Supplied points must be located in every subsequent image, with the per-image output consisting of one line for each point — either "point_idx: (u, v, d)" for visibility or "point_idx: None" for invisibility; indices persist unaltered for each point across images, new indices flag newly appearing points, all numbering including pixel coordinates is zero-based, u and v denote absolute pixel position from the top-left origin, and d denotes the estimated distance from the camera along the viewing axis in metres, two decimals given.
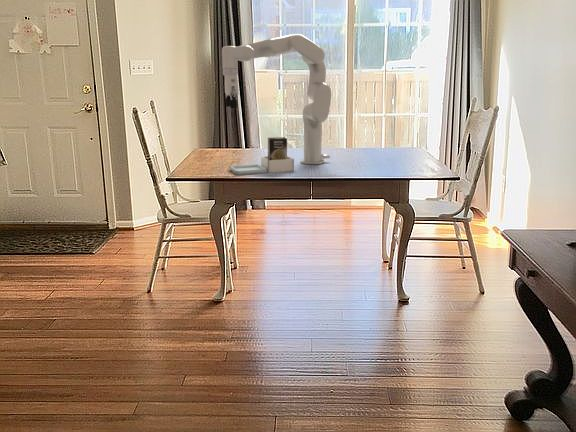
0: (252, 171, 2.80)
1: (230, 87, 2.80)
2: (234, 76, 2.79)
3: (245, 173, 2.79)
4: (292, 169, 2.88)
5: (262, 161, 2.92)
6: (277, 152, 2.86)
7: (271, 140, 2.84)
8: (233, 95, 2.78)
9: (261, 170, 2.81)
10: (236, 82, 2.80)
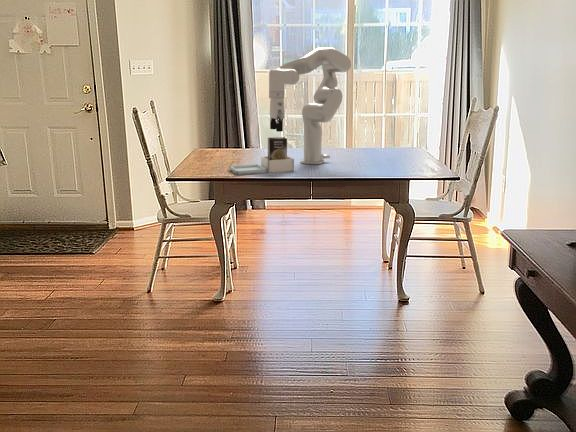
0: (252, 171, 2.80)
1: (277, 110, 2.78)
2: (281, 100, 2.78)
3: (245, 173, 2.79)
4: (292, 169, 2.88)
5: (262, 161, 2.92)
6: (277, 152, 2.86)
7: (271, 140, 2.84)
8: (280, 119, 2.77)
9: (261, 170, 2.81)
10: (283, 105, 2.79)
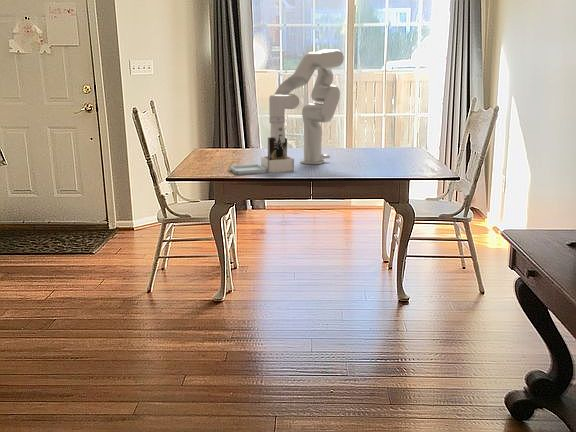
0: (252, 171, 2.80)
1: (277, 135, 2.82)
2: (281, 125, 2.82)
3: (245, 173, 2.79)
4: (292, 169, 2.88)
5: (262, 161, 2.92)
6: None
7: (271, 140, 2.84)
8: (280, 145, 2.82)
9: (261, 170, 2.81)
10: (283, 130, 2.82)
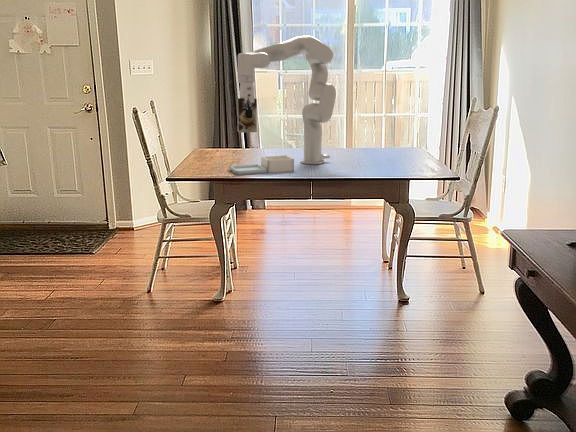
0: (252, 171, 2.80)
1: (246, 95, 2.72)
2: (250, 84, 2.71)
3: (245, 173, 2.79)
4: (292, 169, 2.88)
5: (262, 161, 2.92)
6: None
7: (240, 100, 2.73)
8: (249, 105, 2.71)
9: (261, 170, 2.81)
10: (252, 90, 2.72)
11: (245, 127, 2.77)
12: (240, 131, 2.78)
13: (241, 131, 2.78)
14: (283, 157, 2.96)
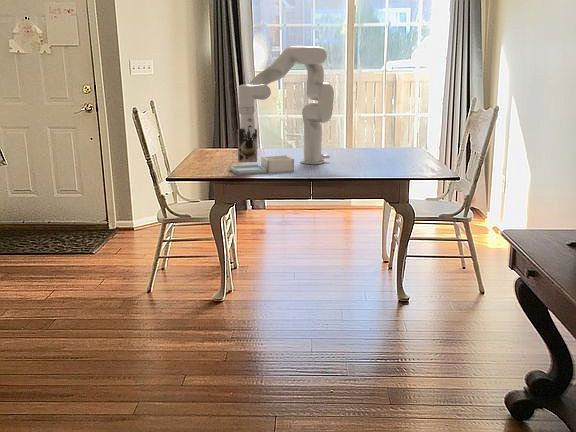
0: (252, 171, 2.80)
1: (247, 126, 2.76)
2: (251, 115, 2.75)
3: (245, 173, 2.79)
4: (292, 169, 2.88)
5: (262, 161, 2.92)
6: None
7: (240, 131, 2.77)
8: (249, 136, 2.75)
9: (261, 170, 2.81)
10: (253, 121, 2.76)
11: (245, 157, 2.81)
12: (241, 161, 2.82)
13: (241, 161, 2.82)
14: (283, 157, 2.96)
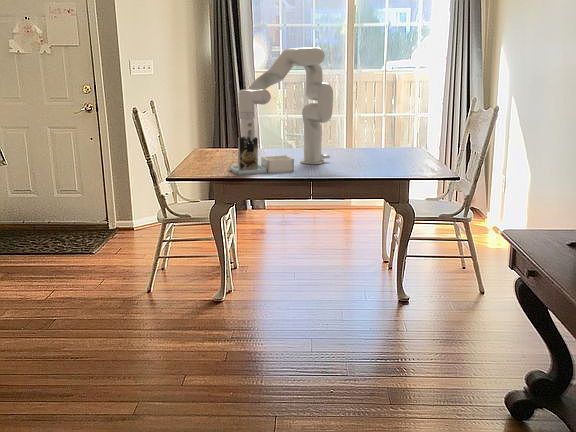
0: (252, 171, 2.80)
1: (247, 131, 2.76)
2: (251, 120, 2.76)
3: (245, 173, 2.79)
4: (292, 169, 2.88)
5: (262, 161, 2.92)
6: None
7: (241, 139, 2.79)
8: (250, 140, 2.75)
9: (261, 170, 2.81)
10: (253, 126, 2.77)
11: (246, 166, 2.83)
12: (241, 169, 2.83)
13: (242, 169, 2.83)
14: (283, 157, 2.96)
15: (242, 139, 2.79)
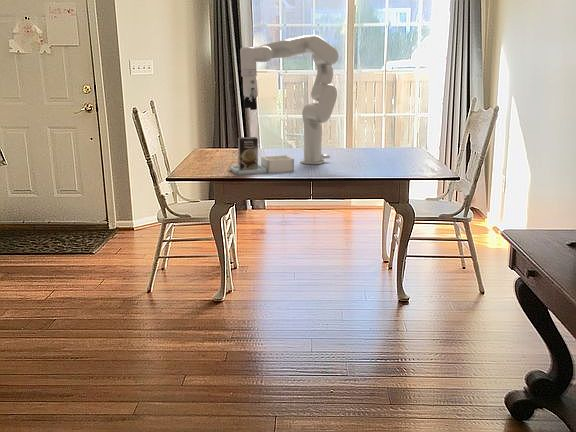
0: (252, 171, 2.80)
1: (250, 89, 2.77)
2: (253, 77, 2.77)
3: (245, 173, 2.79)
4: (292, 169, 2.88)
5: (262, 161, 2.92)
6: (248, 152, 2.81)
7: (241, 140, 2.79)
8: (253, 97, 2.76)
9: (261, 170, 2.81)
10: (255, 83, 2.77)
11: (246, 166, 2.83)
12: (241, 170, 2.83)
13: None
14: (283, 157, 2.96)
15: (242, 139, 2.79)
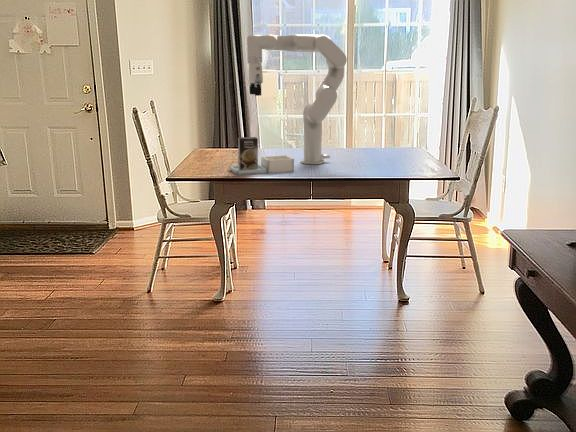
0: (252, 171, 2.80)
1: (255, 75, 2.88)
2: (259, 64, 2.87)
3: (245, 173, 2.79)
4: (292, 169, 2.88)
5: (262, 161, 2.92)
6: (248, 152, 2.81)
7: (241, 140, 2.79)
8: (258, 83, 2.86)
9: (261, 170, 2.81)
10: (261, 70, 2.88)
11: (246, 166, 2.83)
12: (241, 170, 2.83)
13: None
14: (283, 157, 2.96)
15: (242, 139, 2.79)
